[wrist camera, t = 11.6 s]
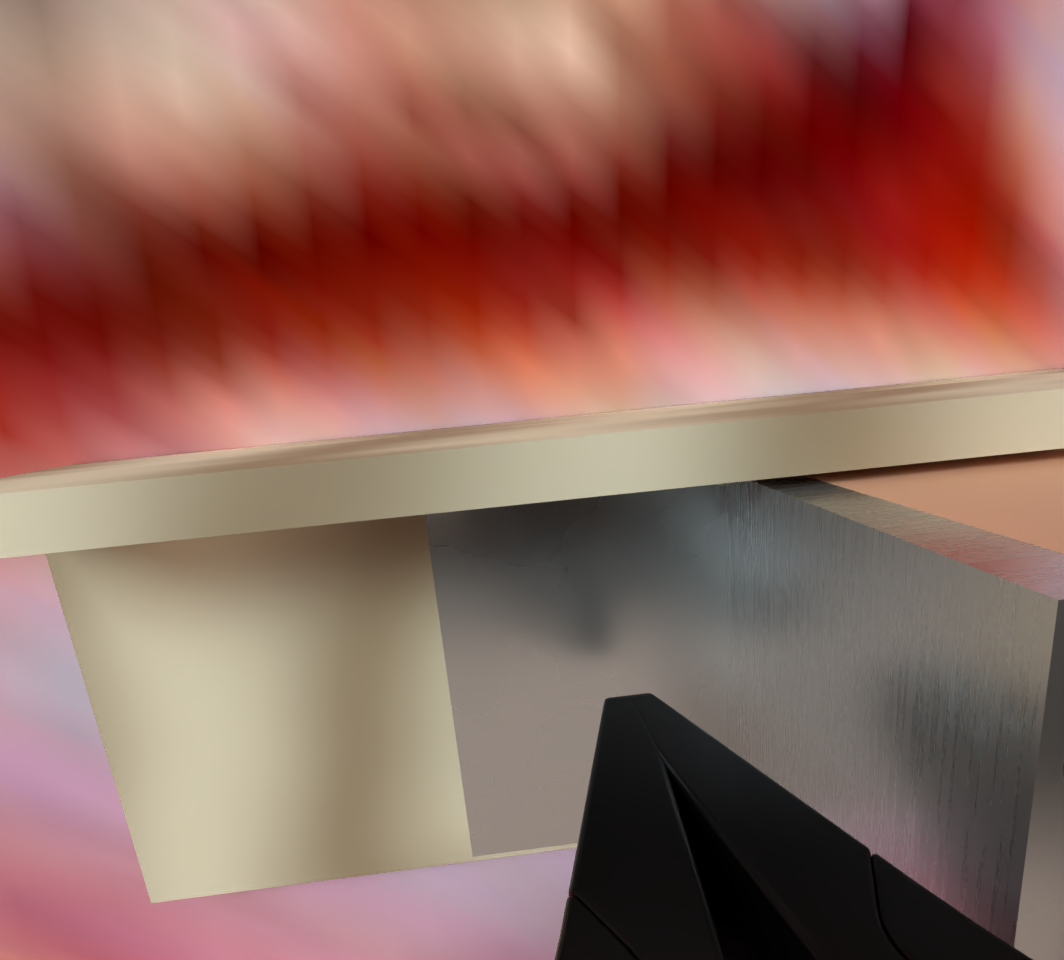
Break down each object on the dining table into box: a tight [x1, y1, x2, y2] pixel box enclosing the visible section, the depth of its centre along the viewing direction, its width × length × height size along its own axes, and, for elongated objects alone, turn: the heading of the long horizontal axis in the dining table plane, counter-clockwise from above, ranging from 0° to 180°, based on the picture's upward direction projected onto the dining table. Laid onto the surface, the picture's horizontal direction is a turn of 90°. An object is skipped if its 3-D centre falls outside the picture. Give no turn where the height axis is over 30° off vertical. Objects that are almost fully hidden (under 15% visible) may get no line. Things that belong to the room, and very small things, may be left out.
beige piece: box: [0, 368, 1064, 903], centre depth 7 cm, size 26×9×8 cm, turn 95°
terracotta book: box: [805, 448, 1064, 554], centre depth 7 cm, size 4×7×6 cm, turn 5°
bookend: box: [425, 475, 1064, 960], centre depth 7 cm, size 6×7×6 cm
